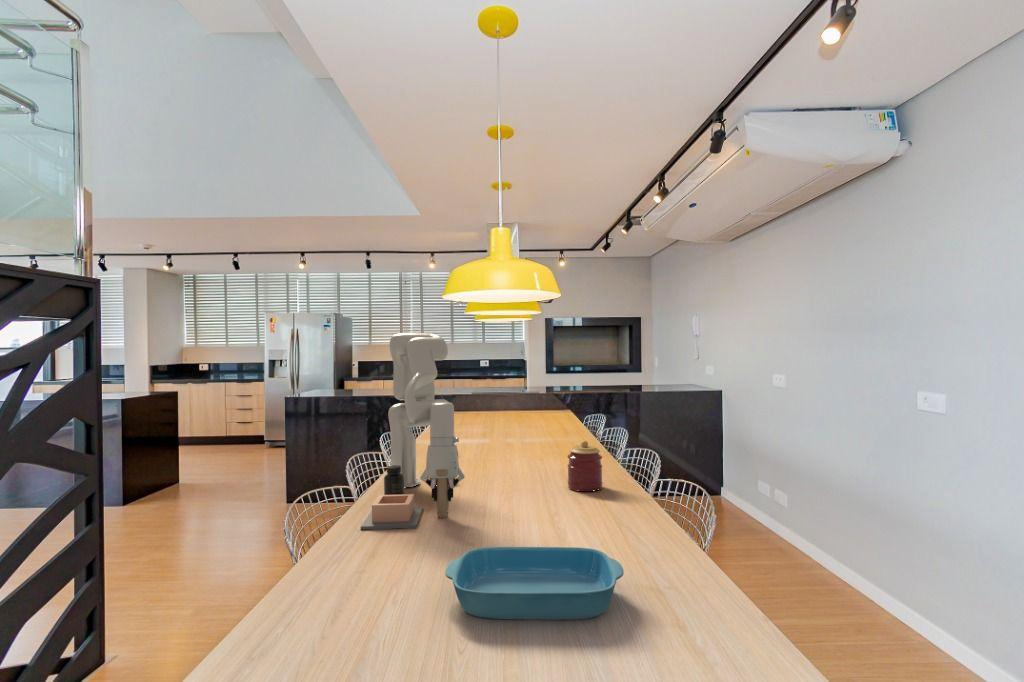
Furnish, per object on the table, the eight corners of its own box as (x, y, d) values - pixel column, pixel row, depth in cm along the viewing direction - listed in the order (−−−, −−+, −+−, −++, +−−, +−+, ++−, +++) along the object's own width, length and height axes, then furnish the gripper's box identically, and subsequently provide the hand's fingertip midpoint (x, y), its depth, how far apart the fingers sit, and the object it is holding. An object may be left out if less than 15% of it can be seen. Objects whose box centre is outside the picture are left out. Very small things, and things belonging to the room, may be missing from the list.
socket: (373, 510, 168) (373, 492, 168) (423, 509, 169) (422, 491, 169) (360, 530, 150) (360, 509, 150) (416, 528, 151) (416, 507, 151)
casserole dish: (436, 626, 97) (436, 588, 97) (455, 575, 119) (454, 544, 120) (633, 630, 95) (632, 591, 95) (615, 577, 118) (614, 545, 118)
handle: (451, 513, 164) (450, 466, 165) (449, 519, 158) (449, 470, 158) (435, 513, 164) (435, 466, 164) (434, 520, 158) (433, 471, 158)
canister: (564, 491, 189) (564, 443, 189) (571, 482, 201) (570, 437, 201) (600, 494, 185) (599, 444, 185) (604, 484, 197) (604, 438, 198)
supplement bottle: (406, 498, 181) (406, 464, 181) (400, 504, 174) (400, 469, 174) (387, 498, 182) (387, 464, 182) (381, 504, 175) (380, 468, 175)
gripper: (469, 439, 166) (469, 496, 165) (416, 440, 165) (417, 497, 164) (468, 443, 158) (469, 503, 158) (413, 444, 157) (414, 504, 157)
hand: (442, 499), depth 161 cm, fingers closed on handle, 3 cm apart
